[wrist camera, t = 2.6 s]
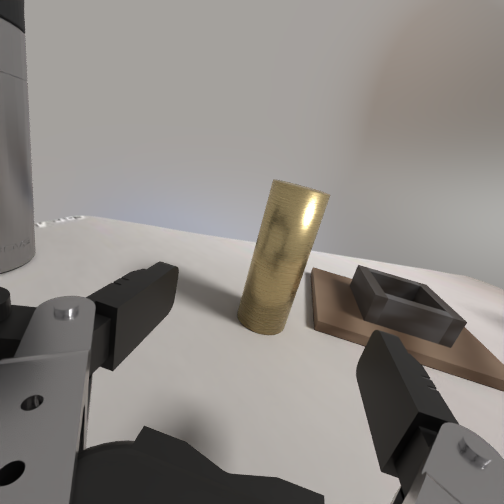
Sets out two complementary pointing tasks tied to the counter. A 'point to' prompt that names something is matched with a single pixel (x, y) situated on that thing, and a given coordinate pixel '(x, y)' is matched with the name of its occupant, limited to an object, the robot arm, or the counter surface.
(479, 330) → the counter surface
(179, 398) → the counter surface
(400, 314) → the mounting plate
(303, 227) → the post
